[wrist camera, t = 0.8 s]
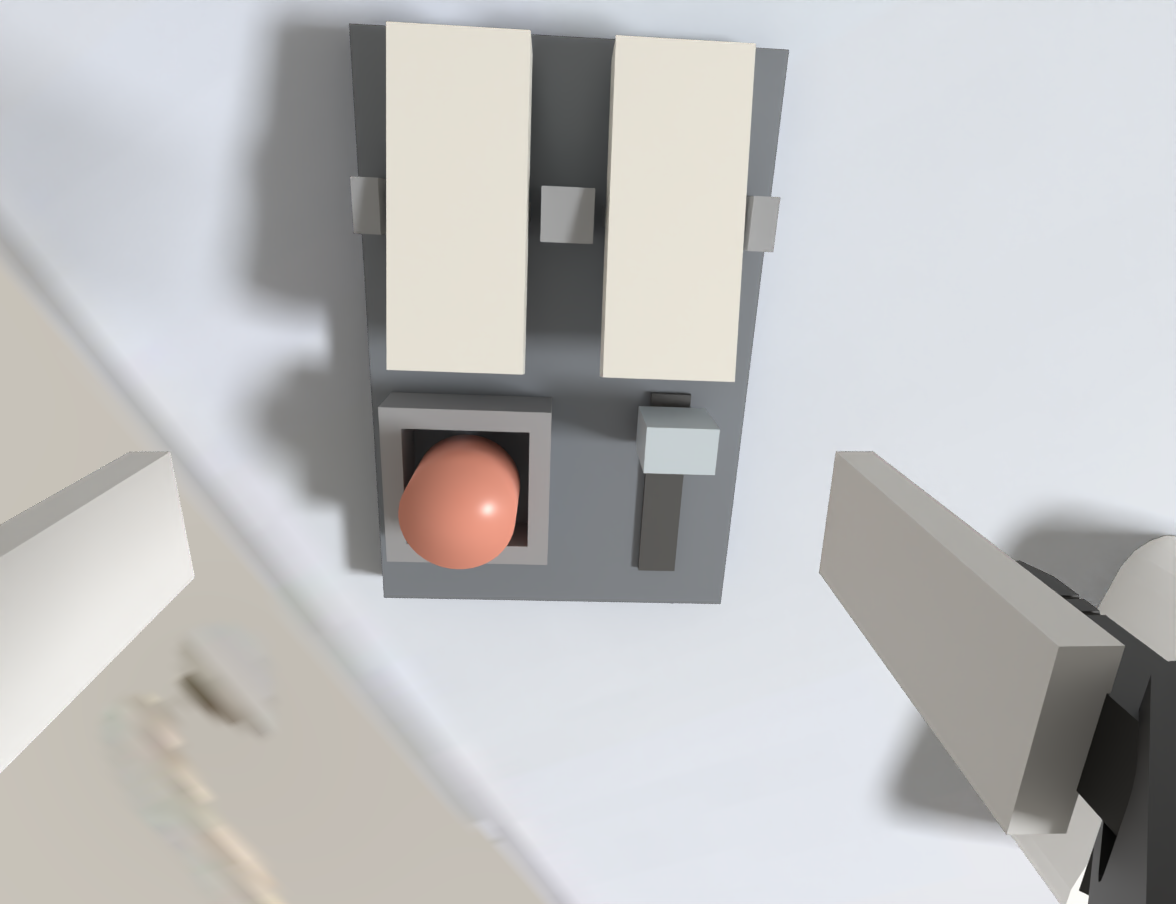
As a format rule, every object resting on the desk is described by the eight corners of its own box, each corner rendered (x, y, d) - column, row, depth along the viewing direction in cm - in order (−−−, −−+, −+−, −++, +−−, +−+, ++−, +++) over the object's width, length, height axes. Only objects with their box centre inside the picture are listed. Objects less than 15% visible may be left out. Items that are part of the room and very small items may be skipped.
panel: (363, 35, 28) (323, 1, 24) (774, 59, 29) (815, 31, 24) (392, 577, 37) (368, 632, 32) (712, 583, 37) (734, 638, 33)
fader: (638, 405, 31) (647, 427, 28) (704, 408, 31) (719, 429, 28) (635, 448, 32) (643, 473, 29) (700, 449, 32) (714, 475, 29)
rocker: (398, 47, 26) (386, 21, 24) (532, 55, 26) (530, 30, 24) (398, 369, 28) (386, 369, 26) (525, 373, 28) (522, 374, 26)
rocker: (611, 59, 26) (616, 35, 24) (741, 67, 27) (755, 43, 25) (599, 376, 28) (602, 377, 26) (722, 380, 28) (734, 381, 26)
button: (414, 432, 30) (395, 461, 27) (520, 436, 30) (515, 465, 27) (418, 529, 32) (401, 567, 28) (519, 531, 32) (514, 570, 28)
